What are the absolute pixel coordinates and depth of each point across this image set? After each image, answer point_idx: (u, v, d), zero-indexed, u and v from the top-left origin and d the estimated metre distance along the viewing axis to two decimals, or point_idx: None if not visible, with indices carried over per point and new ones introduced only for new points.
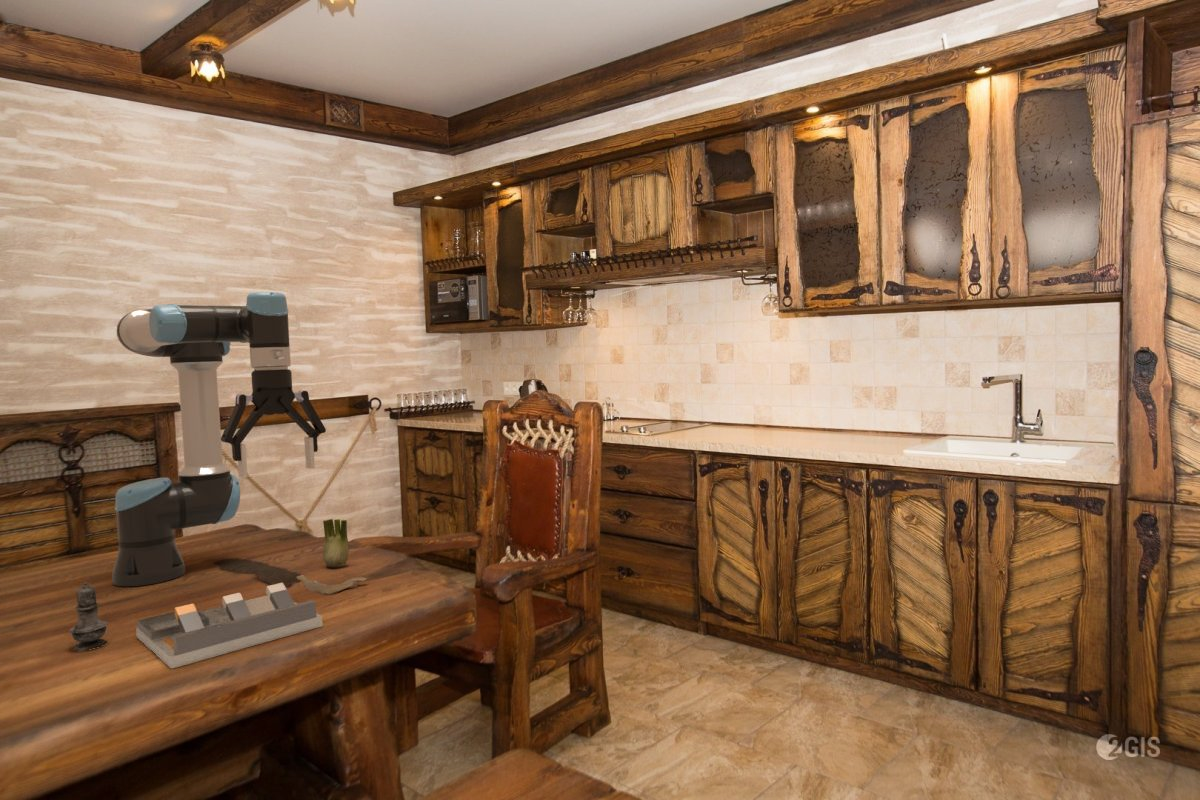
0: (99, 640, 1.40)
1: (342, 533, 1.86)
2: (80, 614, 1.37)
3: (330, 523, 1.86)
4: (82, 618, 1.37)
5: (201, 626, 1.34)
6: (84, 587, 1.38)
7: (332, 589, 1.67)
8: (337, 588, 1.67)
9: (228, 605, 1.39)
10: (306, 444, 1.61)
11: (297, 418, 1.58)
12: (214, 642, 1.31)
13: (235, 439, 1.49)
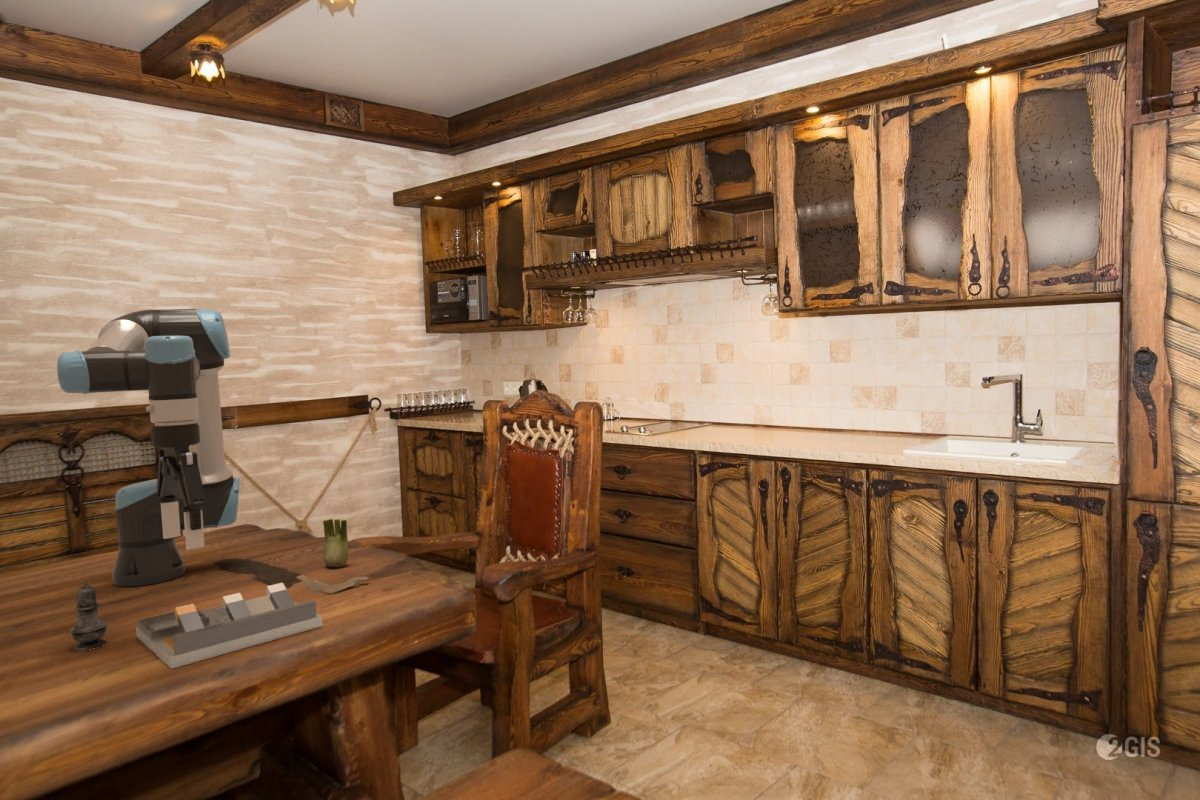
0: (99, 640, 1.40)
1: (342, 533, 1.86)
2: (80, 614, 1.37)
3: (330, 523, 1.86)
4: (82, 618, 1.37)
5: (201, 626, 1.34)
6: (84, 587, 1.38)
7: (334, 588, 1.67)
8: (339, 587, 1.68)
9: (228, 605, 1.39)
10: None
11: (179, 485, 1.31)
12: (214, 642, 1.31)
13: None
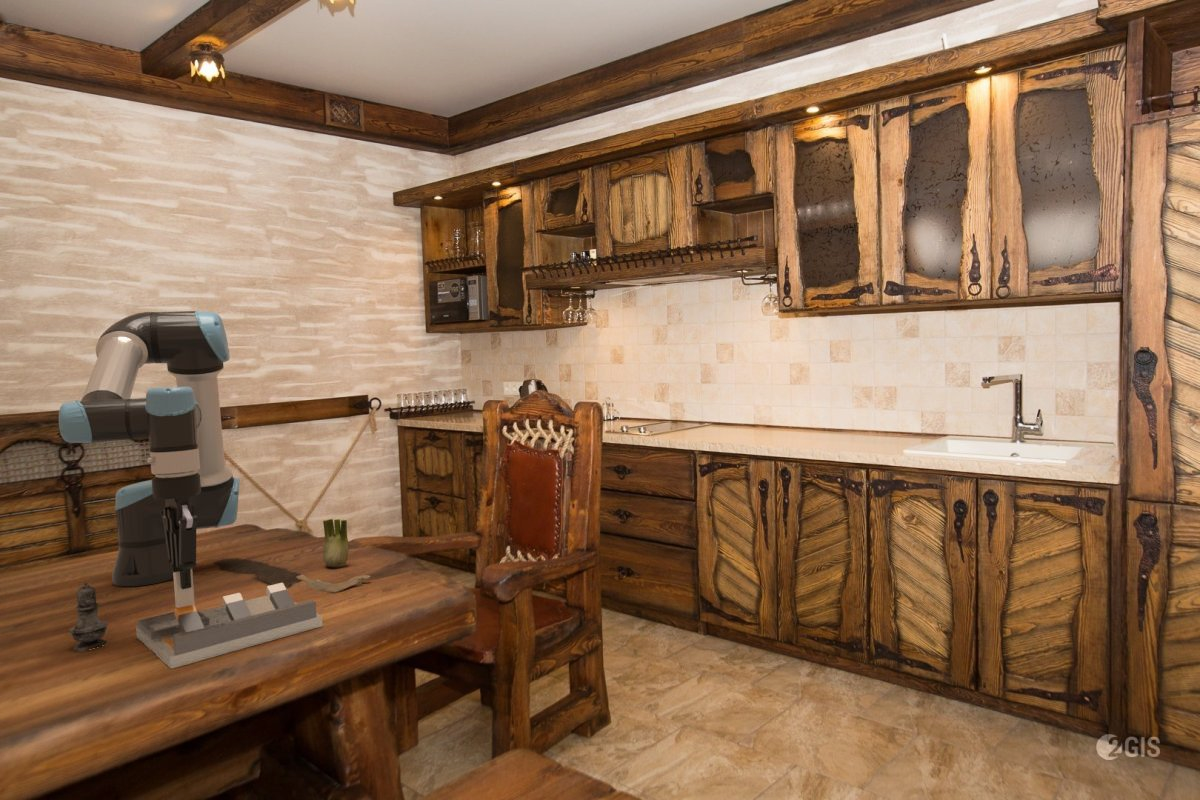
0: (99, 640, 1.40)
1: (342, 533, 1.86)
2: (80, 614, 1.37)
3: (330, 523, 1.86)
4: (82, 618, 1.37)
5: (201, 626, 1.34)
6: (84, 587, 1.38)
7: (337, 587, 1.68)
8: (342, 586, 1.68)
9: (228, 605, 1.39)
10: None
11: (174, 539, 1.34)
12: (214, 642, 1.31)
13: None
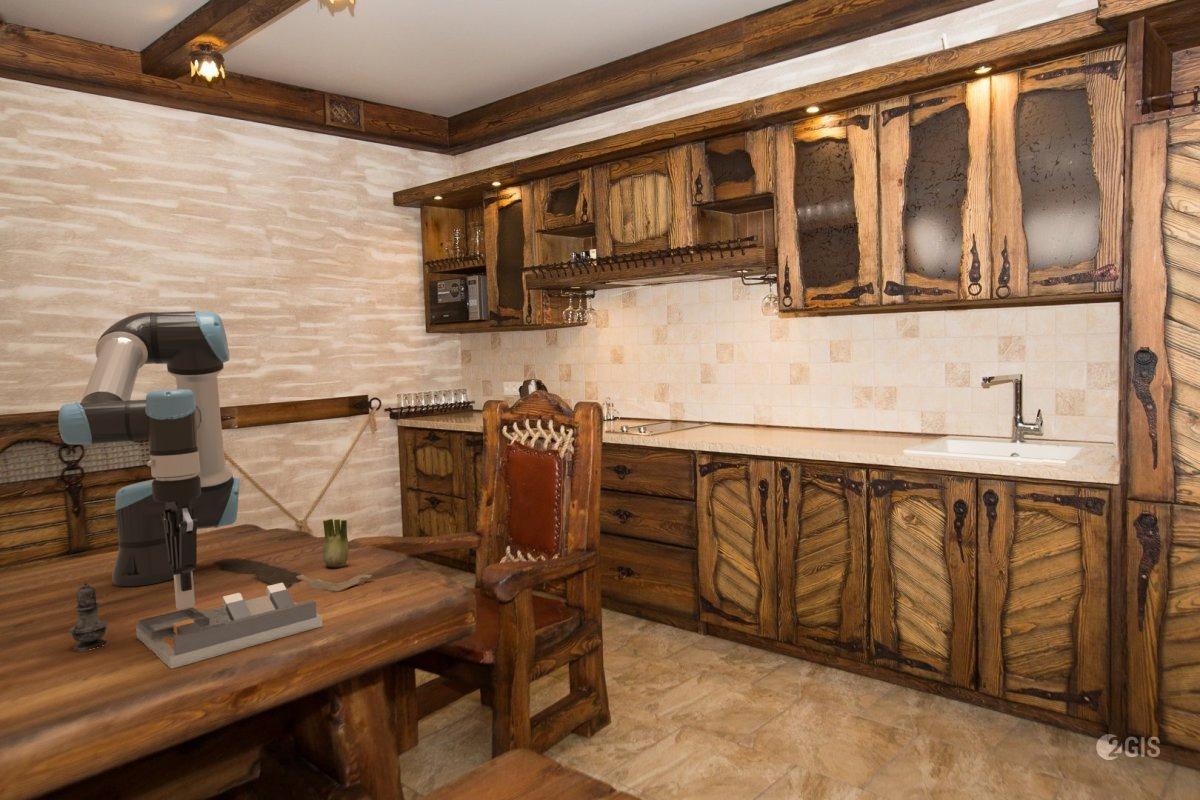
0: (99, 640, 1.40)
1: (342, 533, 1.86)
2: (80, 614, 1.37)
3: (330, 523, 1.86)
4: (82, 618, 1.37)
5: (199, 628, 1.34)
6: (84, 587, 1.38)
7: (339, 586, 1.68)
8: (344, 585, 1.69)
9: (228, 605, 1.39)
10: None
11: (174, 542, 1.34)
12: (214, 642, 1.31)
13: None
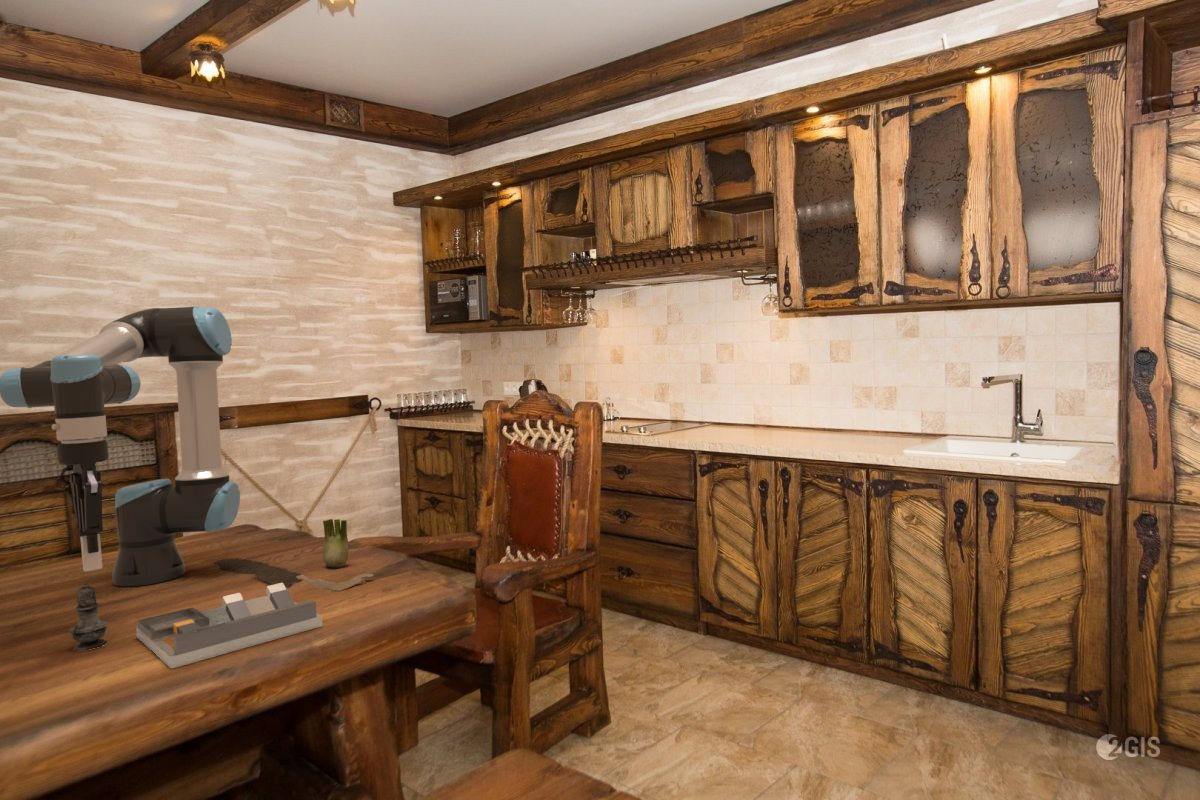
0: (99, 640, 1.40)
1: (342, 533, 1.86)
2: (80, 614, 1.37)
3: (330, 523, 1.86)
4: (82, 618, 1.37)
5: (199, 628, 1.34)
6: (84, 587, 1.38)
7: (341, 586, 1.69)
8: (347, 584, 1.70)
9: (228, 605, 1.39)
10: None
11: (80, 505, 1.36)
12: (214, 642, 1.31)
13: None
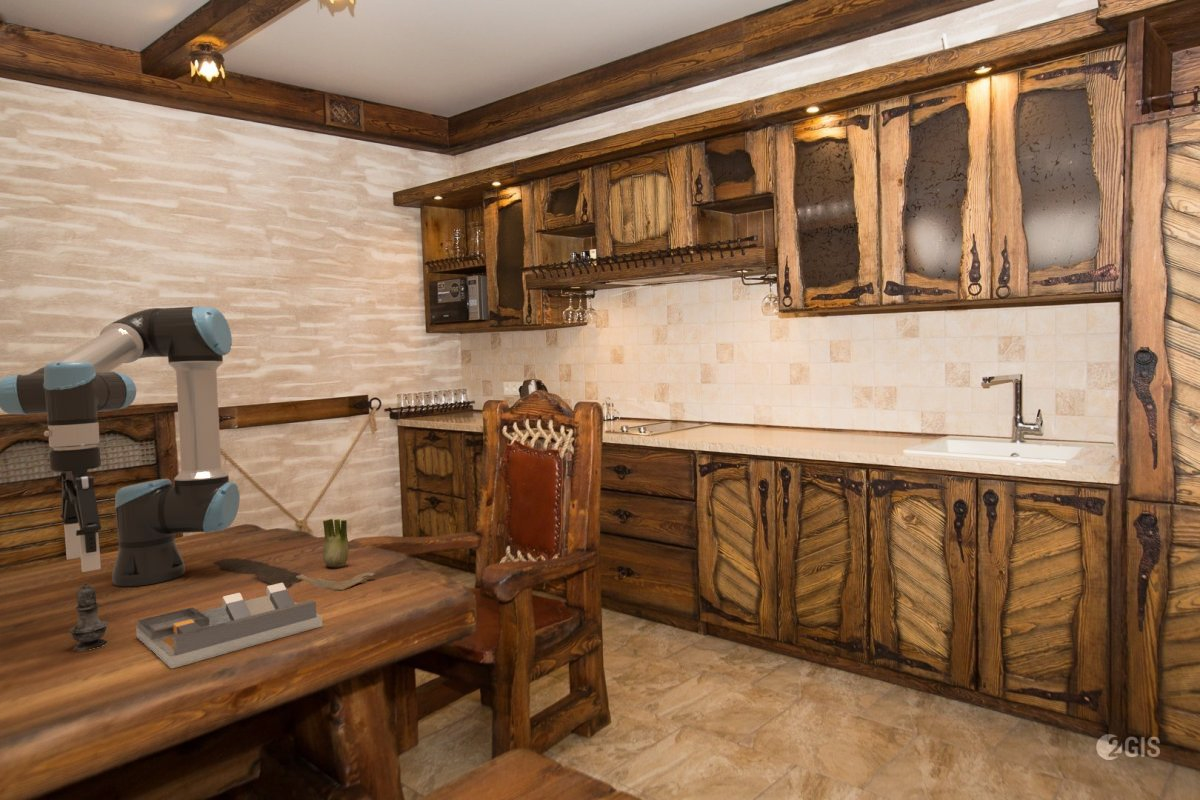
0: (99, 640, 1.40)
1: (342, 533, 1.86)
2: (80, 614, 1.37)
3: (330, 523, 1.86)
4: (82, 618, 1.37)
5: (199, 628, 1.34)
6: (84, 587, 1.38)
7: (343, 585, 1.69)
8: (348, 583, 1.70)
9: (228, 605, 1.39)
10: None
11: (75, 508, 1.34)
12: (214, 642, 1.31)
13: None
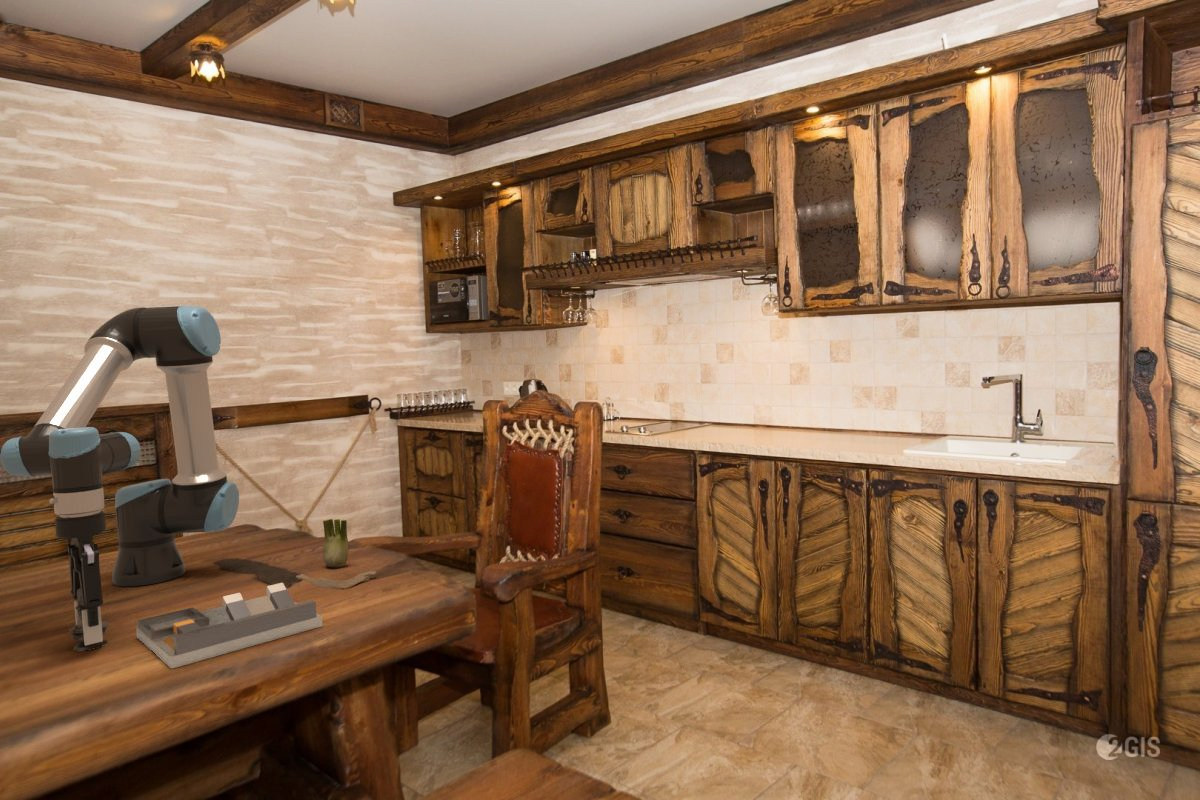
0: None
1: (342, 533, 1.86)
2: (80, 614, 1.37)
3: (330, 523, 1.86)
4: None
5: (199, 628, 1.34)
6: None
7: (346, 583, 1.70)
8: (351, 582, 1.71)
9: (228, 605, 1.39)
10: None
11: (79, 578, 1.36)
12: (214, 642, 1.31)
13: None
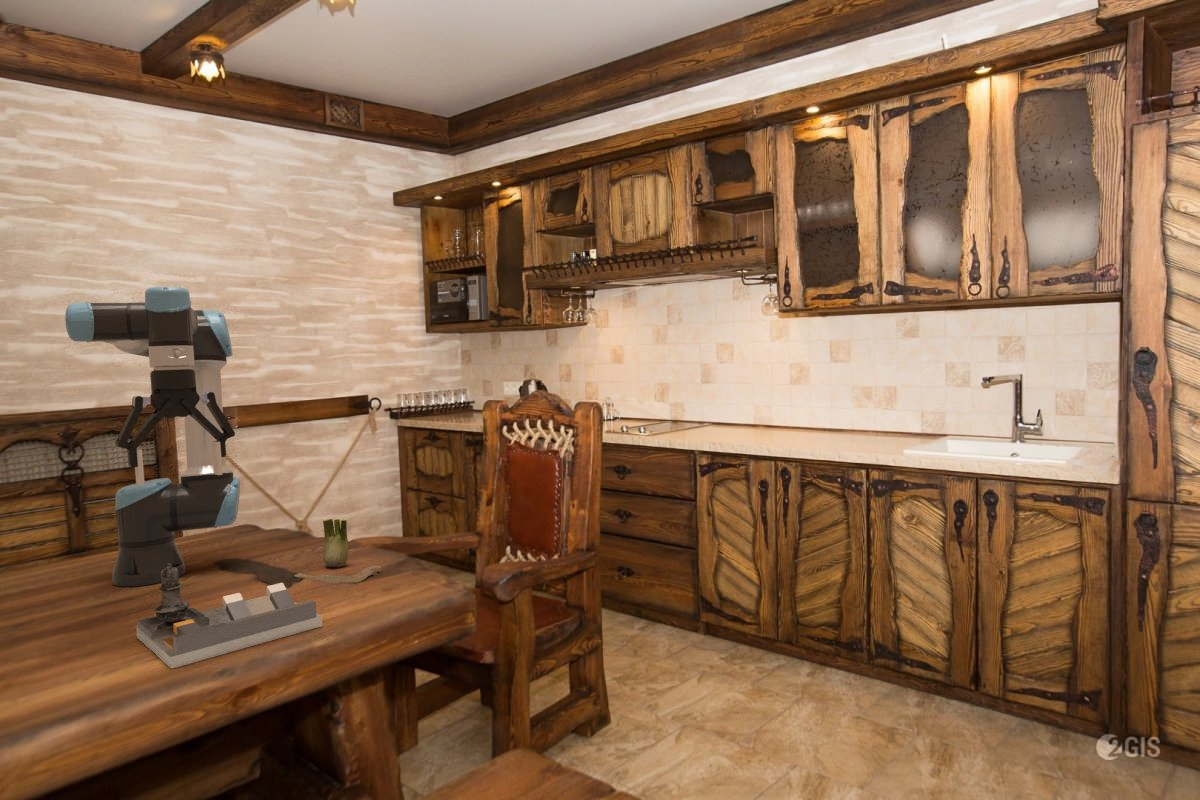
0: None
1: (342, 533, 1.86)
2: (177, 592, 1.42)
3: (330, 523, 1.86)
4: (179, 596, 1.42)
5: (199, 628, 1.34)
6: (172, 567, 1.42)
7: (356, 578, 1.74)
8: (361, 576, 1.75)
9: (228, 605, 1.39)
10: (213, 449, 1.51)
11: (202, 421, 1.48)
12: (214, 642, 1.31)
13: (130, 444, 1.40)
